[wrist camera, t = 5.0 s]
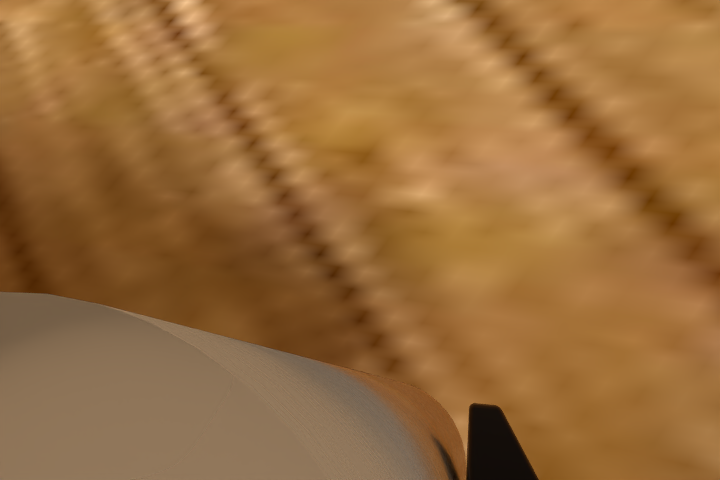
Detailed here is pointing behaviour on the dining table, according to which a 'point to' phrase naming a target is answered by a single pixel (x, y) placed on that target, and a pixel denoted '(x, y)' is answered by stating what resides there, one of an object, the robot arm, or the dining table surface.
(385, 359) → the dining table surface
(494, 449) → the robot arm
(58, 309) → the cylinder
